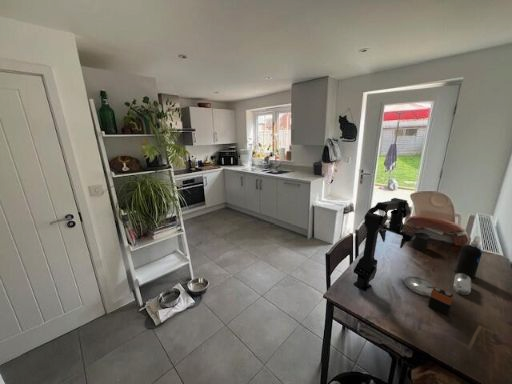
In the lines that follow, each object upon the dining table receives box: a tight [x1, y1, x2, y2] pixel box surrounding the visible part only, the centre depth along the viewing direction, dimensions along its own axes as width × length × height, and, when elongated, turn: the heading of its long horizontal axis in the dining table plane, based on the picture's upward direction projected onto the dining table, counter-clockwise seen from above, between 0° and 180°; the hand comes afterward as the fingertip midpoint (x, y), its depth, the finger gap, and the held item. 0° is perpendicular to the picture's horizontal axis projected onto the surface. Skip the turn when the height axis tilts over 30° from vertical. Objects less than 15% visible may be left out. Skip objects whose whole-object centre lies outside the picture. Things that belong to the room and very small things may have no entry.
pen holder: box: [410, 231, 431, 252], centre depth 141 cm, size 9×9×10 cm
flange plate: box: [404, 276, 437, 298], centre depth 106 cm, size 14×14×1 cm
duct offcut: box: [452, 273, 472, 296], centre depth 103 cm, size 10×6×6 cm, turn 134°
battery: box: [427, 286, 455, 316], centre depth 91 cm, size 4×7×10 cm, turn 39°
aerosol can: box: [454, 241, 483, 280], centre depth 111 cm, size 8×8×20 cm
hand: (392, 244), depth 119 cm, fingers open, 9 cm apart
